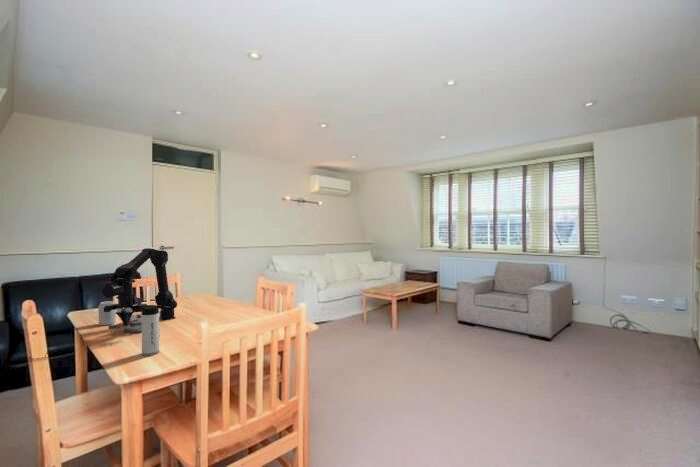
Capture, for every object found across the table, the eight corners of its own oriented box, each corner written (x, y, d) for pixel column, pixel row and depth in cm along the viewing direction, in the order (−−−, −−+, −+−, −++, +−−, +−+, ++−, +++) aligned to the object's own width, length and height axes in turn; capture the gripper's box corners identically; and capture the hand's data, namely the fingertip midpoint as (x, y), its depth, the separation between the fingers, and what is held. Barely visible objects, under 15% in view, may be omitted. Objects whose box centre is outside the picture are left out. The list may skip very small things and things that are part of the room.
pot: (156, 322, 186) (156, 313, 186) (165, 327, 177) (165, 318, 176) (105, 332, 169) (105, 322, 169) (112, 338, 160) (112, 328, 160)
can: (106, 326, 179) (106, 303, 178) (95, 325, 180) (94, 303, 180) (119, 322, 186) (118, 300, 186) (107, 321, 188) (107, 300, 187)
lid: (136, 315, 182) (136, 310, 182) (162, 316, 180) (162, 311, 180) (105, 326, 162) (105, 321, 162) (133, 327, 160) (133, 322, 160)
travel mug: (145, 350, 144) (145, 303, 144) (162, 350, 145) (161, 303, 144) (137, 356, 138) (137, 307, 138) (154, 355, 139) (154, 307, 138)
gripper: (155, 290, 169) (156, 321, 170) (120, 290, 171) (121, 320, 172) (139, 294, 158) (140, 327, 159) (102, 294, 160) (103, 327, 161)
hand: (126, 325), depth 163 cm, fingers closed
